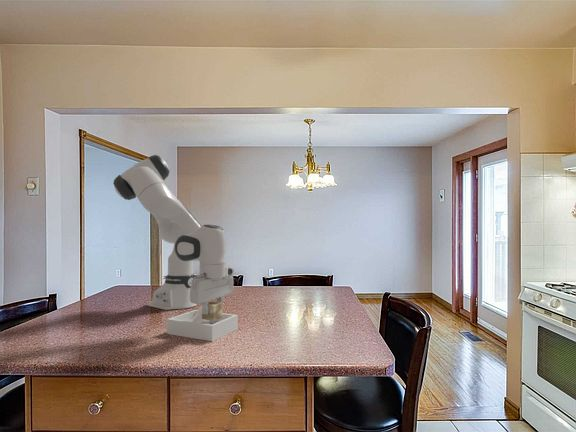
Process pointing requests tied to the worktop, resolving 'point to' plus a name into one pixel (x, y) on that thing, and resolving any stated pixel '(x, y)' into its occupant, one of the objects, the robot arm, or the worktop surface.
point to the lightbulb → (198, 317)
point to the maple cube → (213, 311)
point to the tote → (201, 326)
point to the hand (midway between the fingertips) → (212, 311)
